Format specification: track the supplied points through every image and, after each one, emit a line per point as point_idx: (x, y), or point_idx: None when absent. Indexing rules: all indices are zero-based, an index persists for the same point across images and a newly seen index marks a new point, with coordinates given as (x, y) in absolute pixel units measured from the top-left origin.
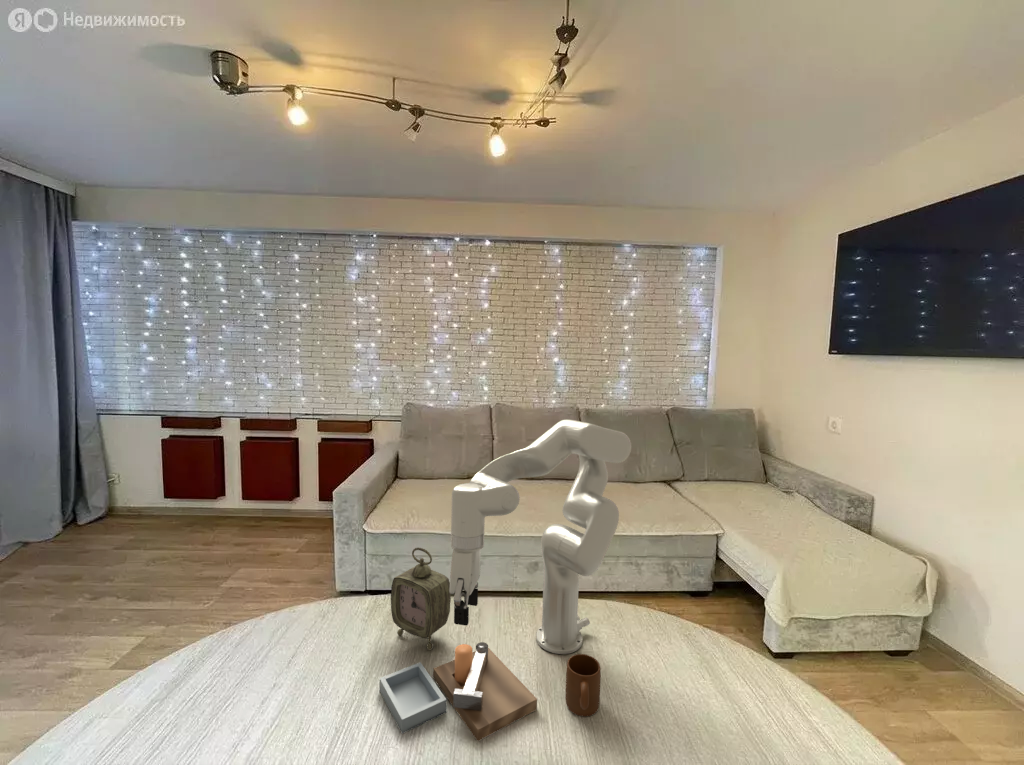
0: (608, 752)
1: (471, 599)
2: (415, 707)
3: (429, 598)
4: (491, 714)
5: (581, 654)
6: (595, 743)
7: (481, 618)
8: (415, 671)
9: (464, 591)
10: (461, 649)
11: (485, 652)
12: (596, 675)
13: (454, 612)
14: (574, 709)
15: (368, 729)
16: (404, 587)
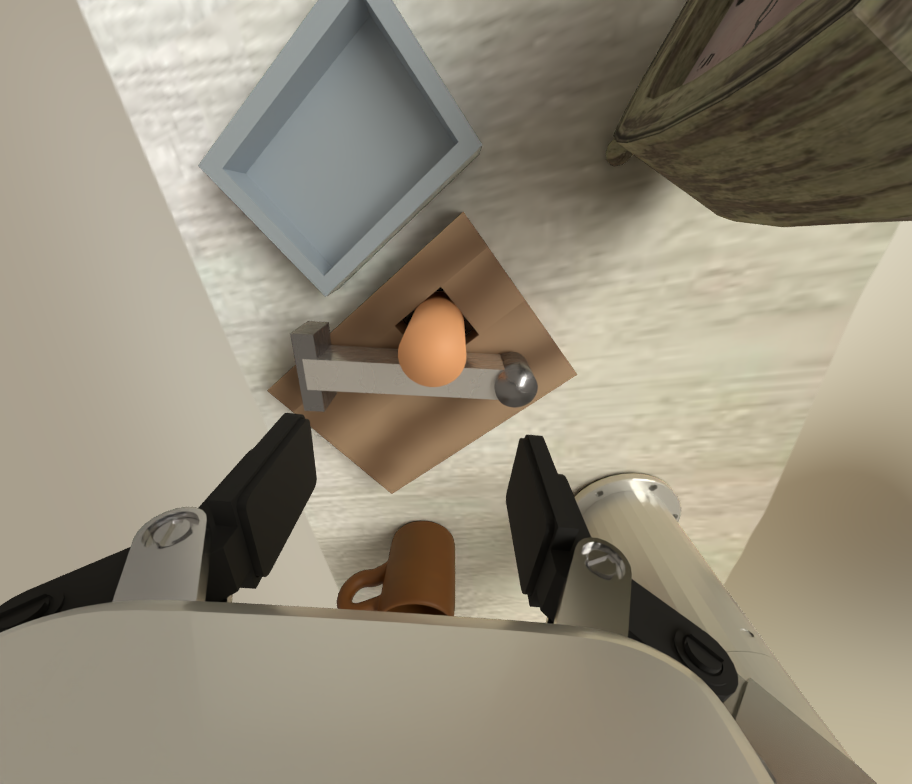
0: (333, 562)
1: (517, 504)
2: (321, 187)
3: (767, 68)
4: (321, 413)
5: None
6: (345, 550)
7: (767, 321)
8: (451, 134)
9: (548, 502)
10: (432, 347)
11: (494, 398)
12: None
13: (245, 461)
14: (394, 538)
15: (195, 26)
16: None
